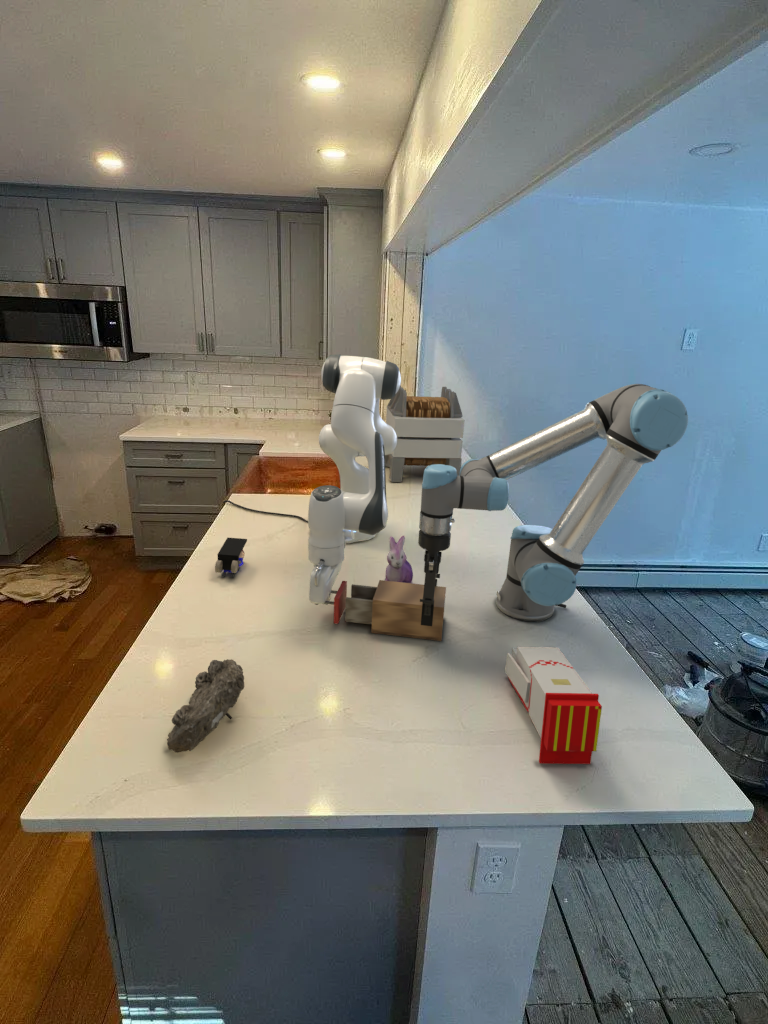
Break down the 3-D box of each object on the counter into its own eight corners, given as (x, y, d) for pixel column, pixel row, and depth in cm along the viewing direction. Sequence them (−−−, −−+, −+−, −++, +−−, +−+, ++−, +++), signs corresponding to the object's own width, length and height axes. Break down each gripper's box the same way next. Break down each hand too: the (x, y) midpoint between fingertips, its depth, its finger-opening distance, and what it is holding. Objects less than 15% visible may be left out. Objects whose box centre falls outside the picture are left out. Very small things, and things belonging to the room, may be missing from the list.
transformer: (382, 463, 289) (386, 382, 275) (445, 464, 293) (451, 384, 279) (390, 482, 257) (394, 392, 243) (460, 483, 261) (468, 394, 247)
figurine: (391, 596, 156) (394, 546, 151) (375, 580, 164) (377, 533, 159) (421, 590, 160) (424, 541, 155) (403, 575, 169) (406, 528, 163)
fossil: (192, 660, 117) (244, 628, 112) (224, 691, 120) (276, 661, 115) (142, 746, 98) (202, 712, 93) (182, 779, 101) (242, 748, 96)
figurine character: (238, 584, 162) (249, 557, 175) (236, 562, 158) (247, 536, 172) (215, 584, 161) (227, 556, 175) (212, 561, 158) (225, 535, 171)
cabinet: (371, 632, 138) (372, 599, 135) (378, 611, 148) (379, 579, 145) (441, 641, 136) (444, 607, 133) (443, 618, 146) (446, 586, 143)
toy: (554, 629, 125) (611, 701, 96) (548, 684, 128) (602, 772, 98) (500, 628, 125) (540, 700, 95) (495, 684, 127) (533, 771, 98)
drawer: (312, 621, 140) (312, 595, 138) (321, 602, 149) (321, 578, 147) (397, 630, 138) (398, 605, 135) (401, 611, 147) (403, 587, 144)
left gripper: (329, 571, 129) (328, 624, 134) (347, 537, 148) (346, 585, 153) (302, 569, 130) (302, 621, 134) (323, 535, 149) (323, 583, 153)
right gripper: (449, 551, 122) (440, 640, 129) (452, 515, 143) (445, 592, 151) (414, 548, 123) (408, 636, 130) (423, 512, 144) (417, 589, 152)
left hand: (326, 602), depth 144 cm, fingers closed, pressing on drawer
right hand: (428, 613), depth 140 cm, fingers closed on cabinet, 11 cm apart
